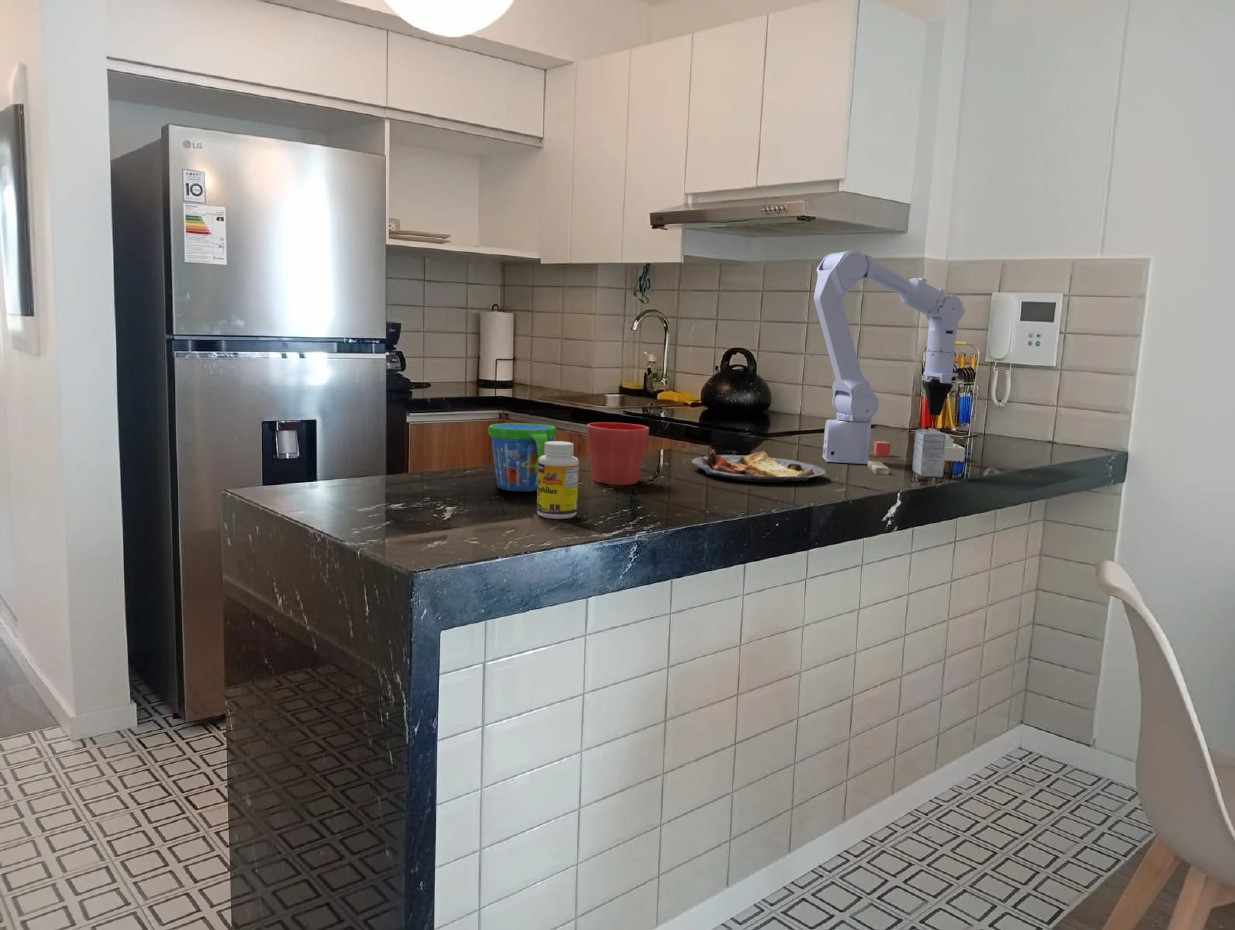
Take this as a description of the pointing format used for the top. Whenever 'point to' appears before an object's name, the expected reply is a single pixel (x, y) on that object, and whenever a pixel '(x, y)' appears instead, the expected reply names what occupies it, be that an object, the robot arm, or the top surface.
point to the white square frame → (954, 453)
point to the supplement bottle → (557, 481)
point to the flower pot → (616, 451)
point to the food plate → (757, 467)
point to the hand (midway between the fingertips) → (934, 415)
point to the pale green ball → (948, 441)
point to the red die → (881, 448)
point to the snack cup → (519, 453)
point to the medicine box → (929, 453)
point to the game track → (878, 467)
